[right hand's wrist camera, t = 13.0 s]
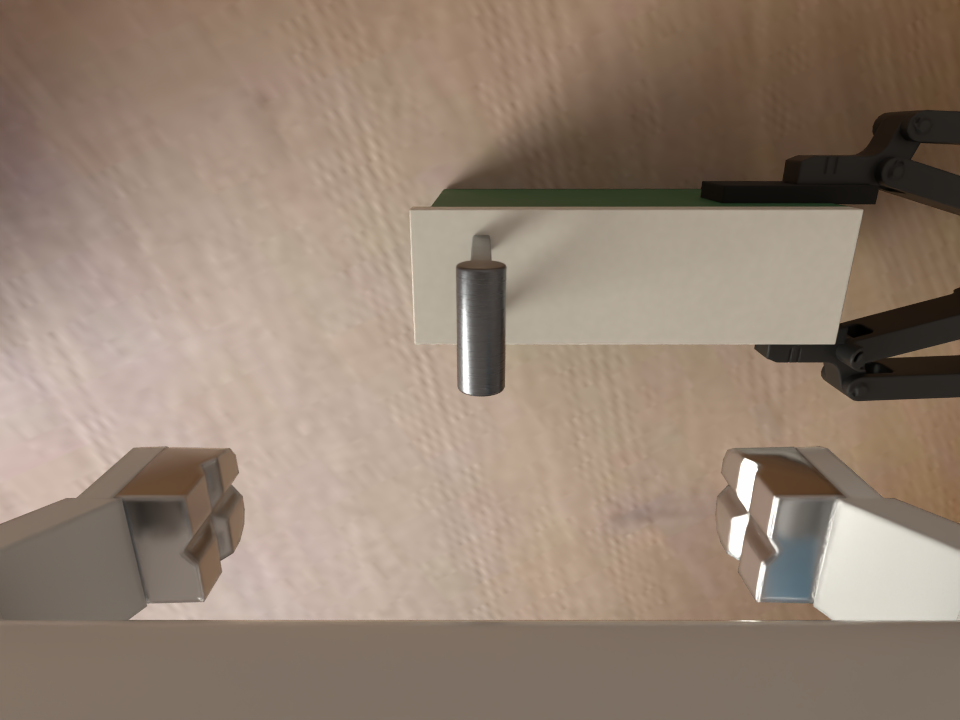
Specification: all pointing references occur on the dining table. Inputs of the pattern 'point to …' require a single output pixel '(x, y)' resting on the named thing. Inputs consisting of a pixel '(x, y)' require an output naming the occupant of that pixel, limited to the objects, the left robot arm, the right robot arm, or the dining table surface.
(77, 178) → the dining table surface
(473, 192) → the chest
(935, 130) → the left robot arm
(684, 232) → the door
